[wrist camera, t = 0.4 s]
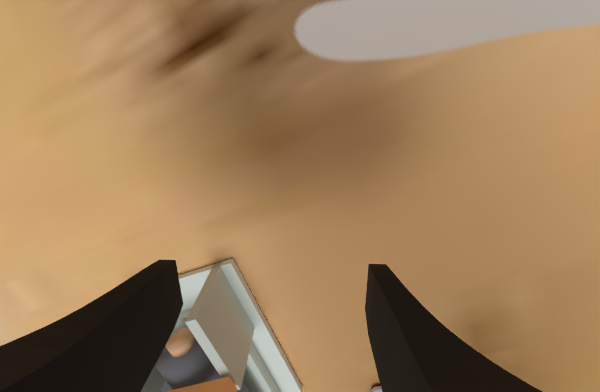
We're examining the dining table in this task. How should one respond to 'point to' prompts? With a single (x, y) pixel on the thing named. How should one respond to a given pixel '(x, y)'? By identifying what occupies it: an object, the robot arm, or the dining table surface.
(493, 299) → the dining table surface
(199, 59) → the dining table surface
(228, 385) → the long tan wooden plank
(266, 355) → the white roller cradle
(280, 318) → the dining table surface
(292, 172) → the dining table surface
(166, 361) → the grey roller spool
